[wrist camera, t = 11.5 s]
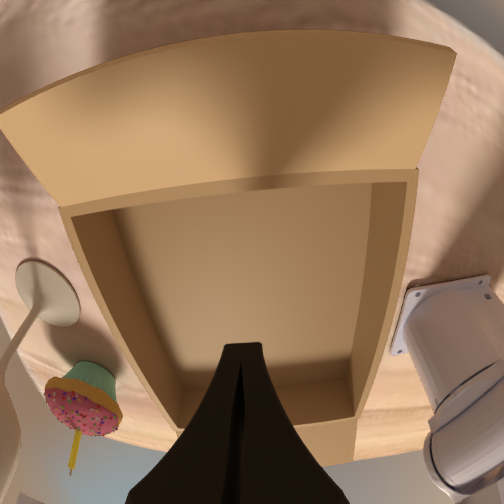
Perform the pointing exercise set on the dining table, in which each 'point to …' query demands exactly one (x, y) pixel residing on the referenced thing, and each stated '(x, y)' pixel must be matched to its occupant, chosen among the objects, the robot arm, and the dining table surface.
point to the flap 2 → (328, 441)
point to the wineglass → (42, 306)
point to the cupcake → (84, 402)
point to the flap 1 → (232, 112)
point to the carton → (252, 282)
